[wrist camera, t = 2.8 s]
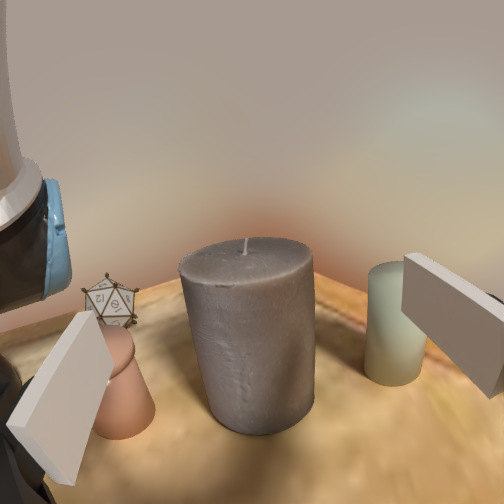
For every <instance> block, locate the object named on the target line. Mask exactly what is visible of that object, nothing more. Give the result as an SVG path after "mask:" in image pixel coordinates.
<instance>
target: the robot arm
mask: <svg viewBox="0 0 504 504" xmlns="http://www.w3.org/2000/svg"><path fill="white" fill-rule="evenodd" d="M71 279H72V268H71V260H70V254H69V247H68V241H67V235H66V231H65V224H64V215H63V208H62V201H61V194H60V188H59V184H58V181H57V180H55V179H45V180H43V178H42V174H41V170H40V168H39V166H38V165H37V164H36V163H35V162H34V161H32V160H30V159H27V158H25V157H22V156H21V152H20V147H19V142H18V137H17V132H16V126H15V121H14V115H13V108H12V102H11V94H10V86H9V76H8V64H7V48H6V0H0V314H2V313H5V312H7V311H11V310H14V309H17V308H20V307H23V306H26V305H29V304H32V303H34V302H38V301H43V300H45V299H46V298H47V297H49V296H51V295H53V294H56V293H58V292H60V291H63V290H64V289H66V288H67V287H68V286H69V284H70V282H71ZM401 312H403V313H404V314H405V315H406V316H407V317H408V318H409V319H410V320H411V321H412V322H413V323H414V324H415V325H416V326H417V327H418V328H419V329H420V330H421V331H422V332H423V333H425V334H426V335H427V336H428V337H429V338H430V339H431V340H432V341H433V342H434V343H435V344H436V345H437V346H438V347H439V348H440V349H441V350H442V351H443V352H444V353H445V354H446V355H447V356H448V357H449V358H450V359H451V360H452V361H453V362H454V363H455V364H456V365H457V366H458V367H459V368H460V369H461V370H462V371H463V372H464V373H465V374H466V375H467V376H468V377H469V378H470V379H471V381H472V382H473V383H474V384H475V385H476V386H477V387H478V388H479V389H480V390H481V391H482V392H483V393H484V394H485V395H486V396H487V397H488V398H489V399H491V398H493V397H494V396H496V395H498V394H499V393H501V392H502V391H504V303H503V301H501V300H500V299H498V298H497V297H495V296H494V295H491V294H488V293H485V292H483V291H482V290H480V289H478V288H477V287H475V286H474V285H472V284H470V283H469V282H467V281H466V280H464V279H462V278H461V277H459V276H458V275H456V274H454V273H453V272H451V271H449V270H448V269H446V268H444V267H443V266H441V265H439V264H438V263H436V262H434V261H432V260H431V259H429V258H427V257H426V256H424V255H422V254H420V253H419V252H415V253H411V254H406V255H404V266H403V287H402V302H401ZM114 365H115V363H114V361H113V359H112V356H111V354H110V351H109V349H108V347H107V344H106V342H105V339H104V337H103V334H102V332H101V329H100V327H99V324H98V321H97V319H96V316H95V313H94V311H93V310H90V311H83V312H78V313H77V314H76V316H75V317H74V318H73V320H72V321H71V323H70V324H69V325H68V327H67V328H66V330H65V331H64V332H63V334H62V335H61V337H60V338H59V340H58V341H57V343H56V344H55V346H54V347H53V349H52V350H51V352H50V353H49V355H48V356H47V358H46V359H45V361H44V362H43V364H42V365H41V367H40V368H39V370H38V371H37V373H36V375H35V376H33V377H32V378H31V379H29V380H28V381H27V382H26V383H25V384H24V385H23V387H22V384H21V381H20V379H19V377H18V375H17V374H16V372H15V370H14V368H13V367H12V365H11V364H10V363H9V362H8V361H7V360H6V359H5V358H4V357H3V356H2V355H1V354H0V504H56V502H55V500H54V498H53V496H52V494H51V492H50V490H49V487H48V486H47V485H46V483H45V482H44V481H43V478H44V475H45V473H46V474H47V475H48V476H49V477H50V478H51V479H52V480H53V481H54V482H55V483H58V484H64V485H71V486H74V485H75V482H76V478H77V475H78V471H79V468H80V464H81V461H82V458H83V454H84V451H85V448H86V445H87V442H88V438H89V435H90V432H91V429H92V426H93V423H94V420H95V417H96V414H97V411H98V409H99V406H100V403H101V400H102V397H103V394H104V392H105V389H106V386H107V383H108V381H109V378H110V375H111V373H112V370H113V367H114Z"/></svg>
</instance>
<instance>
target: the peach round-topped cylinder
mask: <svg viewBox="0 0 504 504" xmlns="http://www.w3.org/2000/svg"><path fill="white" fill-rule="evenodd" d="M99 327H100V329H101V332H102V334H103V337H104V339H105V342H106V344H107V347H108V349H109V351H110V354H111V356H112V359H113V361H114V363H115V365H114V367H113V370H112V373H111V375H110V378H109V381H108V383H107V386H106V389H105V392H104V394H103V397H102V400H101V403H100V406H99V409H98V411H97V414H96V417H95V420H94V423H93V426H92V428H93V429H94V431H95V432H96V433H97V434H98V435H100V436H101V437H103V438H106V439H111V440H122V439H127V438H130V437H133V436H135V435H137V434H139V433H141V432H142V431H143V430H145V429H146V428H147V427H148V426H149V424H150V423H151V422H152V420H153V418H154V416H155V404H154V401H153V399H152V397H151V395H150V392H149V390H148V388H147V386H146V383H145V381H144V379H143V376H142V374H141V371H140V369H139V367H138V364H137V362H136V359H135V357H134V354H135V345H134V342H133V339H132V336H131V334H130V332H129V331H128V330H127V329H126V328H124V327H121V326H118V325H99Z"/></svg>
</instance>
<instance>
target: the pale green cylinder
mask: <svg viewBox="0 0 504 504" xmlns="http://www.w3.org/2000/svg"><path fill="white" fill-rule="evenodd" d="M403 266H404V261H394V262H387V263H382V264H379V265H377V266H375V267H373V268H372V269H371V270H370V272H369V274H368V275H369V276H368V309H367V329H366V345H365V357H364V371H365V373H366V375H367V376H368V377H369V378H370V379H371V380H372V381H374V382H376V383H378V384H380V385H384V386H402V385H406V384H408V383H410V382H412V381H413V380H415V379H416V378H417V377H418V375H419V374H420V371H421V367H422V363H423V358H424V353H425V348H426V343H427V338H428V336H427V335H426V334H425V333H423V332H422V331H421V330H420V329H419V328H418V327H417V326H416V325H415V324H414V323H413V322H412V321H411V320H410V319H409V318H408V317H407V316H406V315H405V314H404V313H403V312H401V302H402V287H403Z"/></svg>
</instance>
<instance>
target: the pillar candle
mask: <svg viewBox="0 0 504 504" xmlns="http://www.w3.org/2000/svg"><path fill="white" fill-rule="evenodd" d="M179 264H180V266H179V268H178V271H179V272H180V277H181V283H182V288H183V293H184V298H185V303H186V308H187V313H188V317H189V322H190V327H191V332H192V336H193V341H194V345H195V350H196V354H197V358H198V363H199V368H200V371H201V375H202V379H203V383H204V387H205V391H206V395H207V399H208V403H209V407H210V409H211V411H212V413H213V415H214V416H215V417H216V418H217V420H219V421H220V422H221V423H222V424H224V425H225V426H226V427H228V428H230V429H231V430H233V431H236V432H239V433H243V434H249V435H268V434H272V433H276V432H280V431H282V430H285V429H287V428H290V427H292V426H293V425H295V424H296V423H298V422H299V421H300V420H301V419H302V418H303V417H304V416H305V415H307V413H308V412H309V411H310V410H311V408H312V406H313V403H314V374H315V290H314V271H313V255H312V251H311V250H310V248H309V247H307V246H306V245H305V244H303V243H300V242H298V241H293V240H288V239H283V238H273V237H255V238H245V239H237V240H231V241H225V242H221V243H217V244H213V245H210V246H207V247H204V248H201V249H199V250H197V251H195V252H193V253H190V254H188V255H187V256H186V257H185V258H183V259H182V260H181V261H180V263H179Z"/></svg>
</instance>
